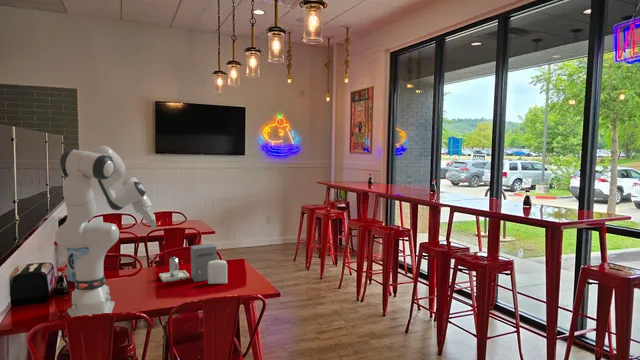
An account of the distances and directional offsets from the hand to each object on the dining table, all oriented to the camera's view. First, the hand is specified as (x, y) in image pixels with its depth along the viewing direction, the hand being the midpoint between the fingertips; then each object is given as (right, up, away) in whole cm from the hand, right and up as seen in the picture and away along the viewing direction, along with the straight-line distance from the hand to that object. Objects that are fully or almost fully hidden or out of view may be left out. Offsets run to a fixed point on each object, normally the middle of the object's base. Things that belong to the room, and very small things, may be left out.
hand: (155, 229), depth 231 cm
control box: (+24, -28, +8) cm, 38 cm away
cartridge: (+7, -28, +10) cm, 30 cm away
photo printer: (+33, -29, 0) cm, 44 cm away
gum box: (-40, -29, +3) cm, 49 cm away
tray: (+7, -28, +10) cm, 31 cm away
